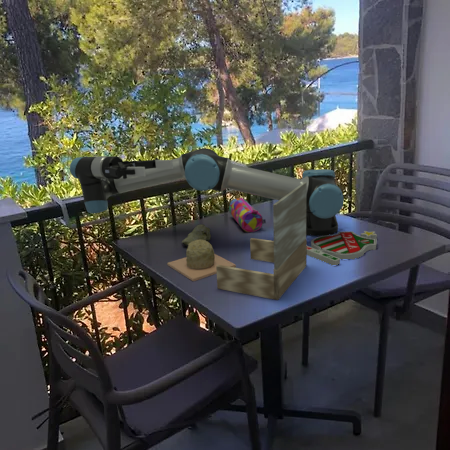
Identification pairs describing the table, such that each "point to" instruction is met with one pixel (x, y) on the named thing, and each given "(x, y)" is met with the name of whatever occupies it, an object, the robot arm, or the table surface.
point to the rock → (198, 235)
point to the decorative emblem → (341, 246)
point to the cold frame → (274, 252)
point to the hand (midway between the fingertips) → (158, 167)
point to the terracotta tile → (198, 273)
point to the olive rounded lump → (200, 254)
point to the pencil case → (246, 215)
